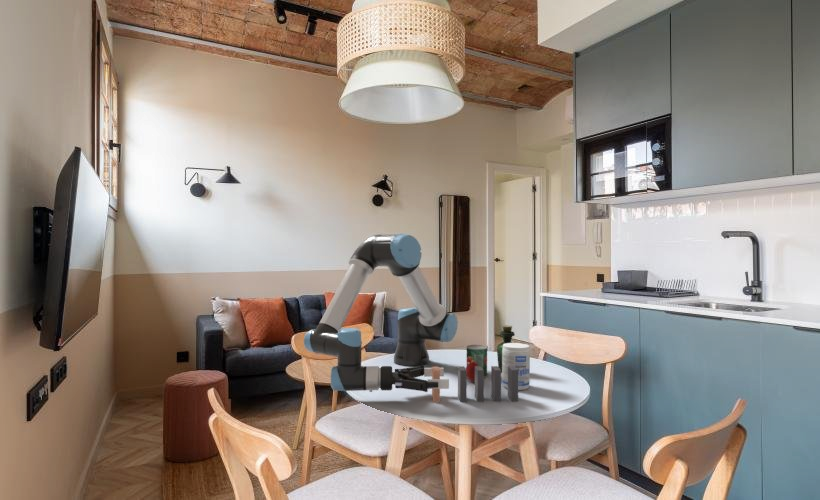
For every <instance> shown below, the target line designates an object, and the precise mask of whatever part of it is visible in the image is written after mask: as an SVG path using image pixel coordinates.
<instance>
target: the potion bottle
mask: <svg viewBox="0 0 820 500" xmlns="http://www.w3.org/2000/svg"><path fill="white" fill-rule="evenodd" d="M512 329H513V326H512V325H502V330H501V331H500V333H499V336H501V337H502V342H500V343H498V344H497V346H496V352H497V353H496V354H497V355H496V356H497V366H498V367H499V368H500V370H501V374H502V350H503V349H502V348H503V344H505V343H513V342H512V338H513V337H515V332H514V331H512Z"/></svg>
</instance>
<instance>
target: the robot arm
mask: <svg viewBox="0 0 820 500" xmlns="http://www.w3.org/2000/svg"><path fill="white" fill-rule="evenodd" d="M421 251H422V247H421V244H420V242H419V241H418V239H417V238H416V237H415V236H413V235H411V234H405V233H399V234H374V235H371V236H369V237H368V238H366V239H365V240H363V242H361V243H360V245H359V246H358V247H357V248H356V249H355V250H354V252H353V253H352V256H351V257H350V259H349V260H348V264H349V265H348V268H347V271H345V275H344V276H343V278H342V280H341V281H340V284H339V285H338V287H337V289H336V291H335V293H334V294H333V296H332V298H331V300H330V302H329V304H328V306H327V308H326V310H325V311H324V314H323V315H322V316H321V317H322V318H321V319H320V321H319V322H318V325H317V326H316V328H314V329H310V330H309V331H307V332H306V333H305V335H304V337H303V346H304V348H305V349H306V350H307V351H308V352H311V353H314V354H317V355H324V356H325V355H326V356H331V357H335V358H337V364H336V365H335V366H332V367H331V370H330V387H331V389H332V390H334V391H341V392H354V391H355V392H356V391H357V392H359V391H369V393H372V392H373V391H379V389H380V390H381V391H392V390H393V385H394V388H395V389H405V390H412V391H419V392H425V393H427V392H428V391H429V390H432V389H440V390H442V389H445V390H446V389H447V390H448V389H450V379H448V378H444V379H443V378H440V379H432V367H425V365H427V364H429V363H430V356H429V352H428V348H427V345H426V340H428V341H434V342H440V343H449V342H452V341H453V340H454V338H455V336H456V334H457V331H458V325H459V322H458V317H457V315H456V314H454V313H452V312H450V313H449V312H448V311H447V309H446V307H445V306H444V305H443V304H441V303H439V300H437V298H436V296H435V294H434V292H433V290H432V288H431V286H430V285H429V283H428V281H427V278H426V277H425V274H424V273H423V271H422V270H421V268H420V263H421V259H422V252H421ZM378 267H387V268H388V270H389V271H390V272H391V275H393V276H394V277H395V278H397V277H398V279H399V280H400V282H401V284H402V285H403V287H404V289H405V291H406V293H407V294H408V295H409V298H410V299H411V301H412V303H413V305H414V307H408V308H401V309H400V310H398V316H397V346H396V349H395V352H394V355H393V363H395V364H396V365H400V366H405V367H403V368H395V369H394V372H393V367H392V366H391V365H382V366H381V367H380V366H379V365H363V366H362V346H363V345H362V344H363V343H362V342H363V341H362V333H361V330H360V329H359V328H355V327H344V328H343V325H344V324H345V321H346V320H347V317H348V316H349V313H350V311H351V310H352V309H353V306H354V304H355V302H356V300H357V298H358V296H359V294H360V292H361V290H362V288H363V286H364V285H365V283H366V280H367V278H368V276H370V275H372V274H373V273H374V271H375V269H376V268H378ZM406 366H408V367H406ZM439 370H440V377H444V376H445V375H444V374H445V371H444V370H445V369H444V367H439ZM423 376H424V378H425V377H428V378H427V380H425V379H422V378H420V377H423ZM429 377H430V379H429Z"/></svg>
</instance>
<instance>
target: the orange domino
mask: <svg viewBox="0 0 820 500" xmlns="http://www.w3.org/2000/svg"><path fill="white" fill-rule="evenodd" d="M431 368H432V377H431V379H441V376H440V370H439V368H440V367H439V366H431ZM440 393H441V389H431V399H432V402H433V403H440V402H441V400H440V399H441V394H440Z"/></svg>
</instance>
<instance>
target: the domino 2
mask: <svg viewBox="0 0 820 500" xmlns="http://www.w3.org/2000/svg"><path fill="white" fill-rule="evenodd" d="M484 384H485V378H484V370H483V369H482V367H481V366H475V382H474V398H475V400H476V402H477V403H484V400H485V397H484V395H485V394H484V393H485V392H484V391H485V388H484V387H485V385H484Z"/></svg>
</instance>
